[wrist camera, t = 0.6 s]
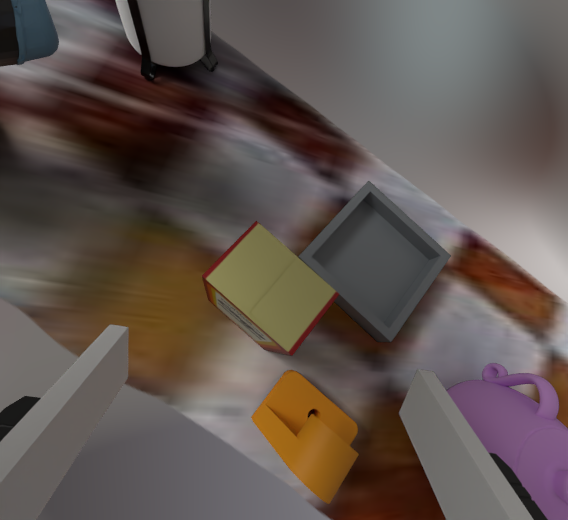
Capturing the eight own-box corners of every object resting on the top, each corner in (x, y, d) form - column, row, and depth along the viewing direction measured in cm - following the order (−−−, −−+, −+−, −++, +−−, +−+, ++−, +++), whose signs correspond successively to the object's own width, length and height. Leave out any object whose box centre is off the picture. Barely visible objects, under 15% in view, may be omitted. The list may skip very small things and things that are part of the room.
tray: (292, 262, 42) (298, 256, 39) (358, 191, 47) (368, 180, 44) (377, 341, 42) (391, 342, 39) (434, 261, 47) (450, 255, 44)
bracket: (351, 421, 39) (406, 455, 27) (318, 474, 36) (363, 536, 25) (287, 365, 39) (316, 376, 27) (250, 415, 37) (264, 450, 25)
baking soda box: (208, 300, 39) (201, 274, 24) (242, 263, 41) (256, 219, 26) (264, 349, 39) (293, 355, 24) (295, 310, 41) (341, 293, 26)
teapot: (390, 339, 43) (466, 338, 29) (522, 374, 45) (645, 389, 32) (366, 525, 36) (450, 630, 23) (521, 552, 39) (675, 661, 26)
